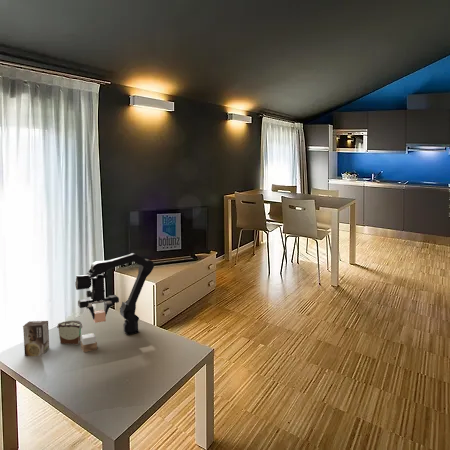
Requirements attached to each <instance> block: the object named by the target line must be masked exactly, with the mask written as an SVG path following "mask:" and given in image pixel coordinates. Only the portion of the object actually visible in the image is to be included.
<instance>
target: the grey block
mask: <svg viewBox="0 0 450 450" xmlns="http://www.w3.org/2000/svg"><path fill="white" fill-rule="evenodd" d="M81 341H82V343H83V345H87V344H92V343H96V342H97V341H96V335H95V334H94V332H92V333H86V334H82V335H81V337H80V342H81Z"/></svg>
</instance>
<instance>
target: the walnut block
mask: <svg viewBox="0 0 450 450" xmlns="http://www.w3.org/2000/svg"><path fill="white" fill-rule="evenodd" d="M80 348H81V350H82V353H87V352H92V351H96V350H98V343H97V341H96V343H92V344H87V345H83V343H82V341H81V340H80Z"/></svg>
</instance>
